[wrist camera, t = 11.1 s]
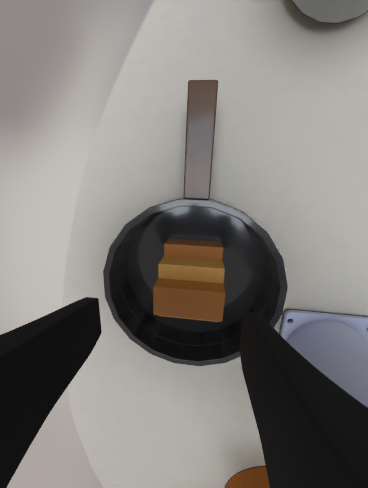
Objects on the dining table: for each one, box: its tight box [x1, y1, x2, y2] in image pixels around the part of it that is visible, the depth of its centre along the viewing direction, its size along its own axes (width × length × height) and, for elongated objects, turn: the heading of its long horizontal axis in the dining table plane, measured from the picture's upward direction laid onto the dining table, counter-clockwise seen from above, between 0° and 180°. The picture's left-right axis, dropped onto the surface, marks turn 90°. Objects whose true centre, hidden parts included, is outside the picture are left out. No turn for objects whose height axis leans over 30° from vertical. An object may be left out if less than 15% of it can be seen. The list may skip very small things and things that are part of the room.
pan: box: [103, 198, 287, 366], centre depth 17 cm, size 14×14×4 cm
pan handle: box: [184, 80, 218, 200], centre depth 13 cm, size 7×2×1 cm, turn 177°
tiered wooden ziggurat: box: [153, 238, 226, 322], centre depth 15 cm, size 6×5×5 cm
